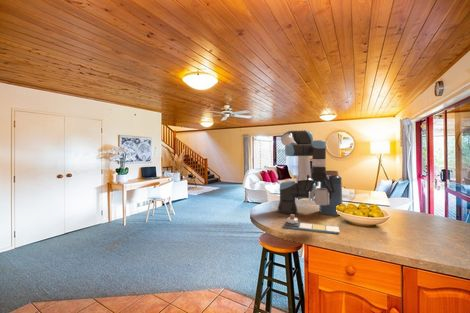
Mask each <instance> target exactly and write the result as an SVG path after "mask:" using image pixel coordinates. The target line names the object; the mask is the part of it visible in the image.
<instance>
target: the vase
mask: <svg viewBox="0 0 470 313" xmlns="http://www.w3.org/2000/svg"><path fill="white" fill-rule="evenodd" d="M326 175H328V176H330V175H331V181H332V184H333V187H334V190H335V192H333V193H332V194H331V199H329V205H328V204H327V205H318V206H319V207H318V208H319V209H318V212H319V213H320V214H322V215H325V216H329V217H330V216H332V217H333V216H334V217H335V216H337V217H339V216H338V214H337V212H336V206H337V205H340V204H343V191H342V190H343V187H342V186H343V184H342V177H341V175H339V171H338V170H326ZM324 180H325V182H326V184H327V185H328V187H329V189H330V190H332V188H331V185H330V182H329V179H328V178H327V177H326V178H325V179H324ZM319 183H320V184H319V188H325V189H327V188H326V186H325V185H324V183H323V182H319ZM328 193H329V191H328Z"/></svg>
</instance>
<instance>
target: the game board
mask: <svg viewBox="0 0 470 313" xmlns="http://www.w3.org/2000/svg"><path fill="white" fill-rule="evenodd" d="M283 229H289V230H290V229H291V230H299V231H307V232H308V231H309V232H315V233H316V232H317V233H323V232H324V233H326V234H333V235H339V233H340V228H339V226H336V225H327V224H319V223H317V224H316V223H308V222H301V221H299V220H298V223H295V224H292V223H288V222H287V220H286V221H285V223H284V225H283ZM324 233H323V234H324Z"/></svg>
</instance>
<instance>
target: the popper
mask: <svg viewBox="0 0 470 313" xmlns="http://www.w3.org/2000/svg"><path fill="white" fill-rule="evenodd" d="M286 221H287V222H288V223H292V224H295V223H298V221H299V220H298V217H296V216H295V214H289V217H287V219H286Z"/></svg>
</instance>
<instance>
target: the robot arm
mask: <svg viewBox="0 0 470 313" xmlns="http://www.w3.org/2000/svg"><path fill="white" fill-rule="evenodd" d="M280 142H281V144H282V145H283V146H284V154H285V156H287V157H288V156H289V157H297V159H298V162H297V163H298V178H299V179H298V180H297V182H296V181H295V180H288V181H287V180H286V181H282V182H280V183H279V203H278V205H277V212H278V213H280V214H284V215H291V214H294V215H295V214H298V213H299V212H298V211H299V210H298V206H297V203H296V199H308V204H310V203H311V197H310V193H311V191H312V190H315V188H317V184H316V183H320V182H323V183H324V185H325V186H326V188H327V190H328V191H329V193H328V205H329V199H331V194H332V193H333V192H335V190H334V187H333V184H332V181H331V175H330V176H328V175H326V171H327V169H326V168H327V167H326V165H327V163H326V162H327V159H326V158H327V150H326V149H327V144H326V143H327V142H326V140H325V139H324V140H323V139H320V140H319V139H317V140H314V136H313V134H312V132H311V130H288V131H286V132H284V133H283V134H282V135H281V138H280ZM310 158H311V160H312V161H311V160H310ZM311 163H312V164H311ZM311 165H312V168H311ZM311 171H312V172H311ZM311 173H312V174H311ZM326 177H327V178H328V179H329V182H330V185H331V188H332V190H330V189H329V187H328V185H327V184H326V182H325V180H324V179H325V178H326ZM315 182H316V183H315ZM313 198H314V199H315V193H313Z"/></svg>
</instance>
